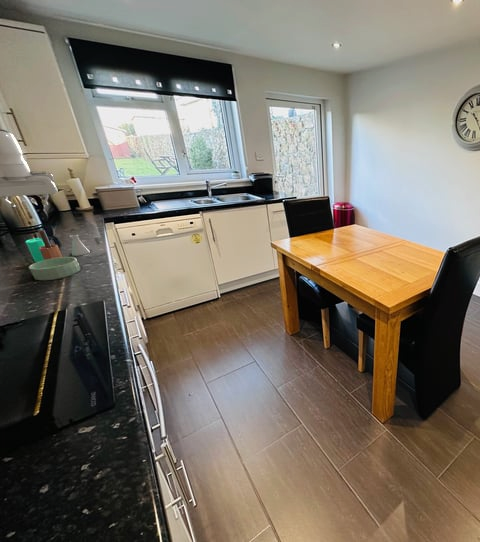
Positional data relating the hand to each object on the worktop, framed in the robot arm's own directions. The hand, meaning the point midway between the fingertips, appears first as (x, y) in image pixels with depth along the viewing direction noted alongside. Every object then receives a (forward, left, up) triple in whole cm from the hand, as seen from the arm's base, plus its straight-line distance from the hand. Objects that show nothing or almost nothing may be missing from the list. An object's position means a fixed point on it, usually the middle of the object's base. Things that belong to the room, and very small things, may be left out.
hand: (30, 206), depth 119 cm
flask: (+8, +13, -28) cm, 31 cm away
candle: (-5, +11, -28) cm, 30 cm away
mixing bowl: (+2, -14, -27) cm, 31 cm away
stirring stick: (0, +1, -27) cm, 27 cm away
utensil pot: (0, +1, -27) cm, 27 cm away
